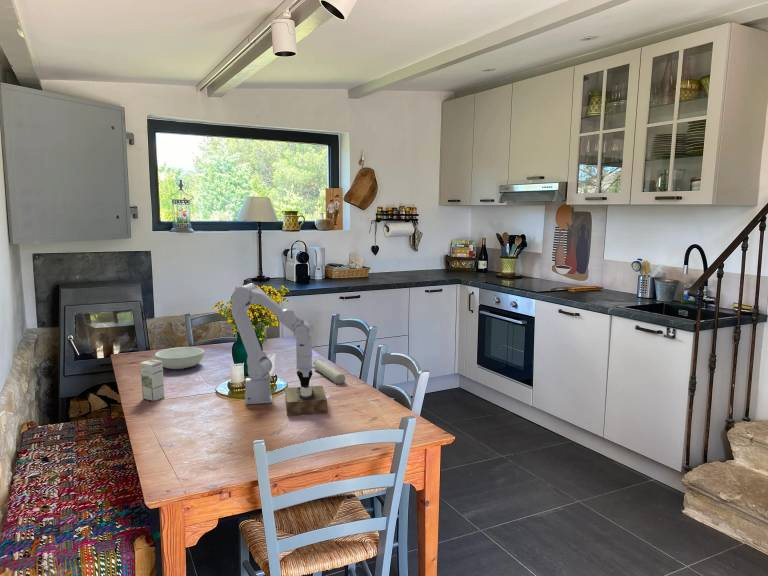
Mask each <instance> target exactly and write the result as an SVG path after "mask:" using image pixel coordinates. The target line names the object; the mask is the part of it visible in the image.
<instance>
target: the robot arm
mask: <svg viewBox="0 0 768 576" xmlns="http://www.w3.org/2000/svg"><path fill="white" fill-rule="evenodd" d="M231 299H232V302H231V309H230V310H231V314H232V317H233V320H234V322H235V325H236V327H237V328H236V329H237V330H238V333H239V336H240V338H241V341H242V344H243V346H244V349H245V352H246V354H247V359H246V365H247V374H248V376H249V377H246V378H245V384H244V388H245V391H244V392H245V393H244V398H245V405H258V404H271V403H273V396H272V394H271V393H272V392H271V391H272V389H271V374H270V372H271V371H272V369H273V362H272V361H271V359H270V358H269V357H268V355H267V354H266V352H265V351H263V350H262V347H261V344H260V342H259V339H258V338H257V335H256V331H255V329H254V326H253V324H252V321H251V317H250V315H249V313H248V310H249V309H250V307H251V305H261V306H262V307H264V308H265V309H267V310H268V311H269V312H271V313H272V314H273V315H275V316H277V320H278V322H279V323H280V324H282V325H284V327H285V328H287V329H288V330H290V331H291V332H292V333H293V336H294V337H295V339H296V340H295V347H296V348H295V349H296V350H295V353H296V360H295V362H296V366H295V369H296V370H297V371H296V375H297V377H298V379H299V383H300V387H302V386H310V381H311V378H312V377H313V369H314V368H315V365H313V342H312V334H313V333H314V326H313V324H312V323H311V322H310V321H309V320H305V319H304V318H302V317H300V316H299V315H297V314H296V313H295V310H293V309H289V308H283V307H282V306H281V305H279V304H278V302H276V301H275V300H273V299H272V298H271V297H270V296H269V295H268V294H267V293H265V291H264V290H263V289H262V288H260V287H259V286H257V285H256V284H255V283H252V282H251V283H247V284H245V285H242V286H238V287H237V288H235V289H234V291H233V292H232V294H231Z"/></svg>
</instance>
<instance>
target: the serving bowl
mask: <svg viewBox="0 0 768 576" xmlns="http://www.w3.org/2000/svg"><path fill="white" fill-rule="evenodd" d="M204 355H205V350H204V349H203V348H199V347H194V346H193V347H192V346H180V347H171V348H165V349H162V350H159V351H157V352H155V354H154V357H155V360H158V361H162V366H163V368H166V369H172V370H184V368H186V369H188V367H189V368H192V367H195V366H196V365H198V364H200V363H201V361H202V360H203V358H204Z"/></svg>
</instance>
